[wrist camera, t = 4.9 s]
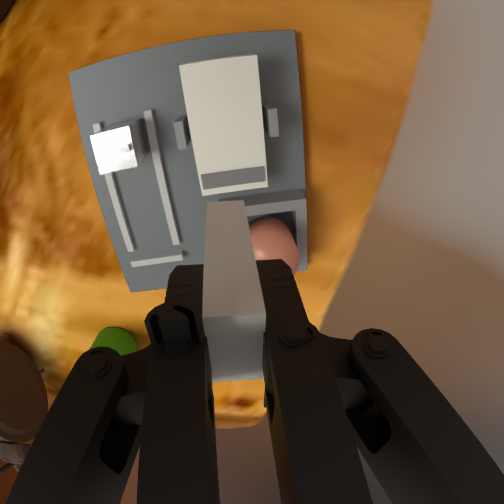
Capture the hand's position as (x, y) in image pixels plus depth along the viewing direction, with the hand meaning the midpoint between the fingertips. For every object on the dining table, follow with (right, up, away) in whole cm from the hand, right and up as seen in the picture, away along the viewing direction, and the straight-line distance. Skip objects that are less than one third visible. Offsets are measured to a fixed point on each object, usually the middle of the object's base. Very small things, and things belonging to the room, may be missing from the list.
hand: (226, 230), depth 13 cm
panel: (-4, +6, +13) cm, 14 cm away
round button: (+2, 0, +14) cm, 14 cm away
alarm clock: (-34, -16, +23) cm, 44 cm away
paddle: (-1, +8, +8) cm, 11 cm away
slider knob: (-9, +8, +9) cm, 15 cm away
